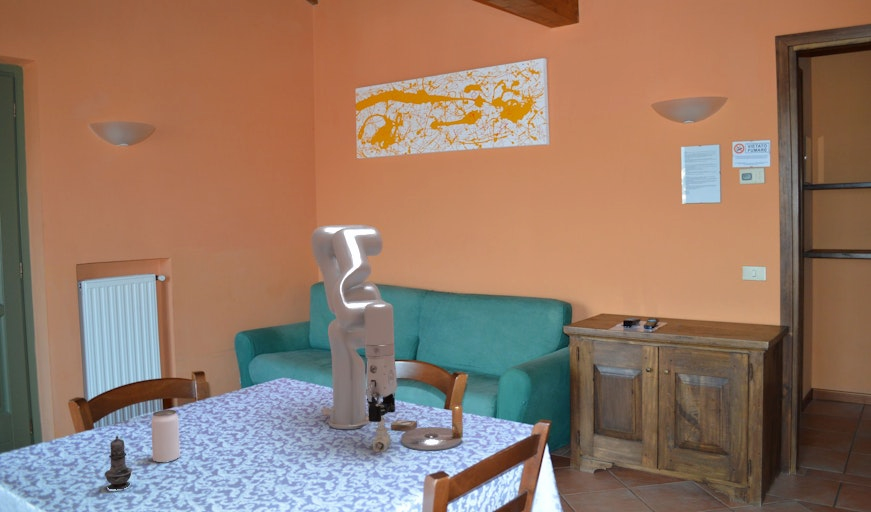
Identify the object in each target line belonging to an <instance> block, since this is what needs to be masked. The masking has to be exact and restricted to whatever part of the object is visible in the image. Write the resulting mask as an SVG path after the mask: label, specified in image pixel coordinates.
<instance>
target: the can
mask: <svg viewBox="0 0 871 512" xmlns="http://www.w3.org/2000/svg"><path fill="white" fill-rule="evenodd" d="M150 420H151V424H150V425H151V449H152V450H151V451H152V460H153V462H155V461H157V462H167V461H172V460H175V459H177V458H178V459H179V458H180V456H181V455H180V454H181V453H180V451H181V450H180V428H179V427H180V425H179V416H178V414H177V411H176V410H175V409H163V410H157V411H154V412H153V413H152V417H151V419H150ZM178 459H177V460H178ZM175 461H176V460H175ZM157 462H156V463H157ZM172 462H173V461H172ZM167 463H168V462H167Z"/></svg>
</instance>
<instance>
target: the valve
mask: <svg viewBox="0 0 871 512" xmlns="http://www.w3.org/2000/svg"><path fill="white" fill-rule="evenodd" d="M379 406H381V421H380V422H377V425H378V426H377V427H376V428H375V434H376V436H375V438H374V439H373V442H372V450H373V451H374V452H377V453H378V452H383V453H384V452H386V451H387V450H388V448H389V447H390V445H391V435H390V434H389V433H388V428H387V427H386V426H385V422H386V419H385V418H384V416H385V415H388V413H389V412H388V411H389V408H391V409H394V406H393V405H392V403H387V404H386V403H385V402H383V401H380V404H379ZM384 406H386V407H384Z"/></svg>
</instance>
